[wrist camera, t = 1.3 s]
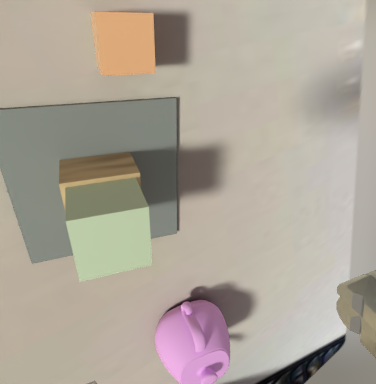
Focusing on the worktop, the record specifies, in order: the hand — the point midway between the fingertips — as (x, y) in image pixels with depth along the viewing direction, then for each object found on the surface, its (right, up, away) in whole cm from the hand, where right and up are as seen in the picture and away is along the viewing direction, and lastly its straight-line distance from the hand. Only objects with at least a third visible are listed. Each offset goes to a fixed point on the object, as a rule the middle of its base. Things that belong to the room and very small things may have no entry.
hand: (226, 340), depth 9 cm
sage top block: (-10, +3, +23) cm, 25 cm away
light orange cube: (-8, +20, +21) cm, 31 cm away
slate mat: (-12, +6, +28) cm, 31 cm away
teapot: (-2, -21, +49) cm, 53 cm away
